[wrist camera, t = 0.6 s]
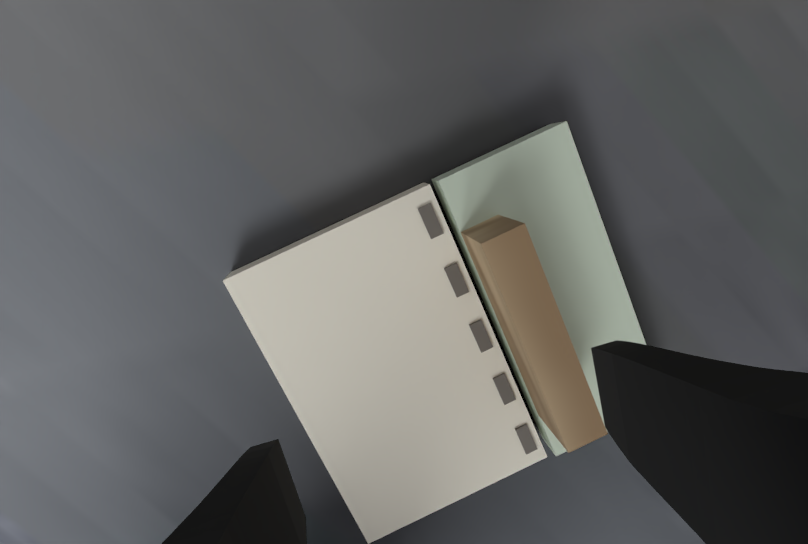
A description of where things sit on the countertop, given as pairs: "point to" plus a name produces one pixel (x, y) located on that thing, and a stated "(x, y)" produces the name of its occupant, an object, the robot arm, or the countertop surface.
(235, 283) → the block
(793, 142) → the countertop surface
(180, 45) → the countertop surface
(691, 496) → the robot arm
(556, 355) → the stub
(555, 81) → the countertop surface
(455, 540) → the countertop surface
